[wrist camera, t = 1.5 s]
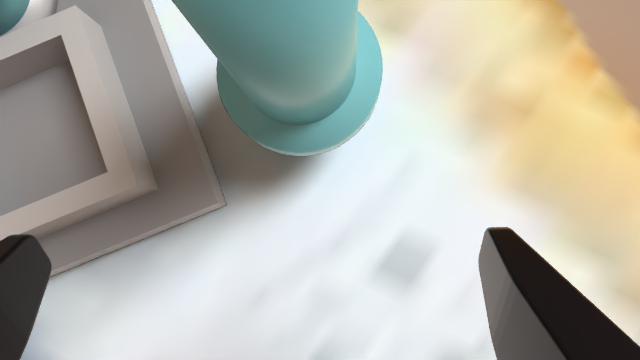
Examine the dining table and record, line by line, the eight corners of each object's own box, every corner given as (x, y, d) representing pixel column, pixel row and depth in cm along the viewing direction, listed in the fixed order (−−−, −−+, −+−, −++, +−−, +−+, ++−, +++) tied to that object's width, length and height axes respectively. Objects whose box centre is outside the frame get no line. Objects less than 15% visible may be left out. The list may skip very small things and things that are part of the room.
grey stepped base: (227, 204, 22) (178, 195, 16) (-20, 305, 22) (-162, 335, 16) (109, -112, 24) (27, -227, 18) (-114, -16, 24) (-269, -98, 18)
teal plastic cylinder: (353, 184, 21) (358, 100, 7) (227, 146, 22) (13, 4, 8) (391, 57, 22) (463, -241, 8) (267, 24, 22) (130, -308, 9)
